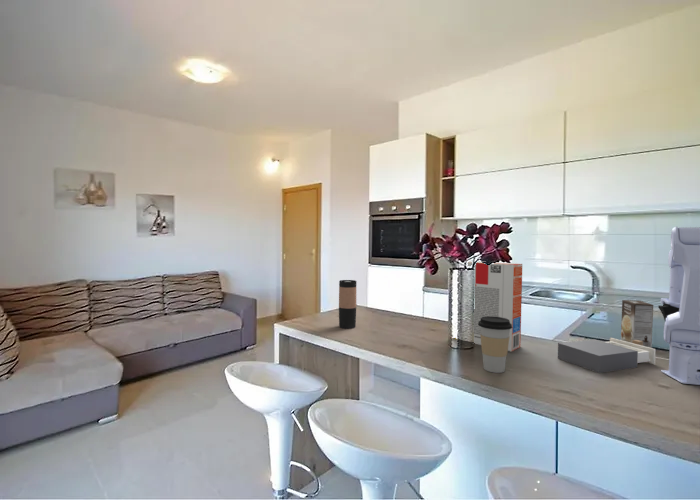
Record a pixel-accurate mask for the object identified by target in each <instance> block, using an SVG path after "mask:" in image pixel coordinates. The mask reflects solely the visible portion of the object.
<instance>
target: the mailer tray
mask: <svg viewBox="0 0 700 500" xmlns="http://www.w3.org/2000/svg"><path fill="white" fill-rule="evenodd" d="M605 342H606V343H610V344H614V345H617V346H621V347H624V348H628V349H632V350H635V351H638V357H637V364H638V363H639V364H640V363H648V364H653V365H655V364H656V348H653V347H652V348H649V347H645V346H643V341H640V340H632V343H630V342H626V341H622V340H621V339H617V338H614V337H610V338H609V341H605Z"/></svg>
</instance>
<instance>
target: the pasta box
mask: <svg viewBox="0 0 700 500" xmlns="http://www.w3.org/2000/svg"><path fill="white" fill-rule="evenodd" d="M469 261H470V262H468V266H471V265H472V262H471V261H472V260H469ZM482 262H483V261H478V262H477V263H476V265H475V309H474V343H475V345H479V346H481V335H480V334H481V329H480V326H479V325H478V322H479V321H481V318H482V317H487V316H493V317H502V318H506V319H509V321H510V323H511V324H512V328H511V329H510V333H509V345H508V352H514V351H515V350H518V349H520V348H521V334H522V333H521V332H522V299H523V298H522V297H523V296H522V294H523V293H522V292H523V291H522V290H523V263H517V262H516V263H515V262H514V263H513V262H511V263H510V262H497V263H494V264H491V265H486V264H484V263H482ZM474 343H473V344H474Z"/></svg>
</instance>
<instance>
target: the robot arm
mask: <svg viewBox="0 0 700 500" xmlns="http://www.w3.org/2000/svg"><path fill="white" fill-rule="evenodd" d="M667 262H668V267H669V271H670V272H669V290H668V291H669V292H668V297H661V298H660V304H661V305H658V306H657V308H658V309H659V310H660V313H661V314H662V316H663V320H664V323H663V341H665V342H666V343H668V345H669V357H668V358H669V359H668V369H667V370H665V369H661V370H660V372H661V373H663V374H664V375H667V376H668V377H670V378H672V379H674V380H676V381H678V382H679V383H681V384H684V385H697V386H700V226H698V227H697V226H695V227H694V226H685V227H684V226H681V227H678V226H674V227H672V229H671V234H670V250H669V251H668V259H667Z"/></svg>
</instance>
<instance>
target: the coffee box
mask: <svg viewBox="0 0 700 500" xmlns="http://www.w3.org/2000/svg"><path fill="white" fill-rule="evenodd" d="M621 302H622V303H621V323H620V324H621V326H620V327H621V328H620V329H621V331H620V332H621V333H620V340H622V341H626V342H630V343H632V340H640V341H643V346H645V347H649V348H653V346H652V345H653V343H652V342H653V322H654V304H652V303H649V302H645V301H642V300H633V299H632V300H631V299H630V300H629V299H622V301H621Z"/></svg>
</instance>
